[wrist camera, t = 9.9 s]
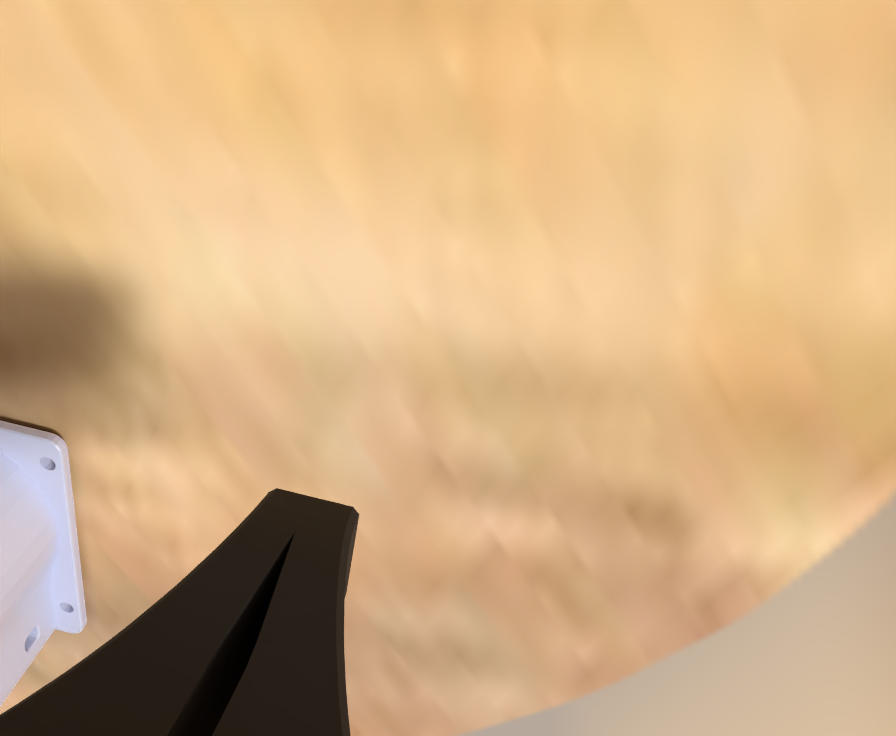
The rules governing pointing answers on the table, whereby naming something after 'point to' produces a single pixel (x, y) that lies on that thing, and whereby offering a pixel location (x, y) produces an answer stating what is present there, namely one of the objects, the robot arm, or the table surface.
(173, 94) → the table surface
